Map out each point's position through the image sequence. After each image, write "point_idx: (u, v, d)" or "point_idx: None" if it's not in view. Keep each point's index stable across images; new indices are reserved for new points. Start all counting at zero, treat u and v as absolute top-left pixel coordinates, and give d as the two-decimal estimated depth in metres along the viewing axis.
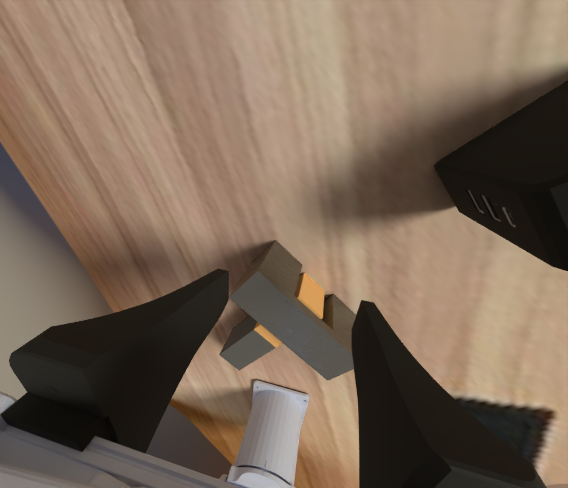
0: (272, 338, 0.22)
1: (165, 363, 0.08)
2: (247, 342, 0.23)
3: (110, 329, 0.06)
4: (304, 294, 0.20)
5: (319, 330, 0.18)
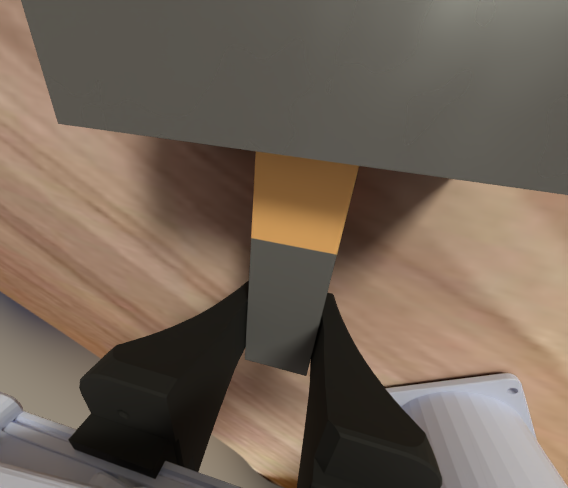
0: (309, 230, 0.07)
1: (217, 378, 0.08)
2: (267, 288, 0.09)
3: (174, 346, 0.06)
4: None
5: None
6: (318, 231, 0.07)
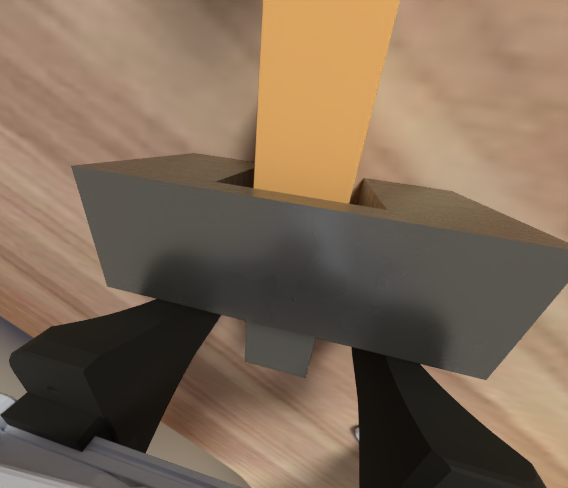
0: None
1: (165, 363, 0.08)
2: None
3: (110, 329, 0.06)
4: None
5: (335, 225, 0.05)
6: None
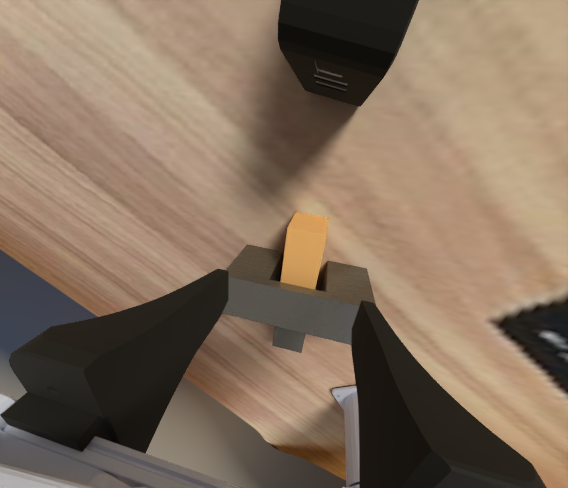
0: None
1: (165, 363, 0.08)
2: None
3: (110, 329, 0.06)
4: (296, 224, 0.18)
5: (309, 298, 0.17)
6: None
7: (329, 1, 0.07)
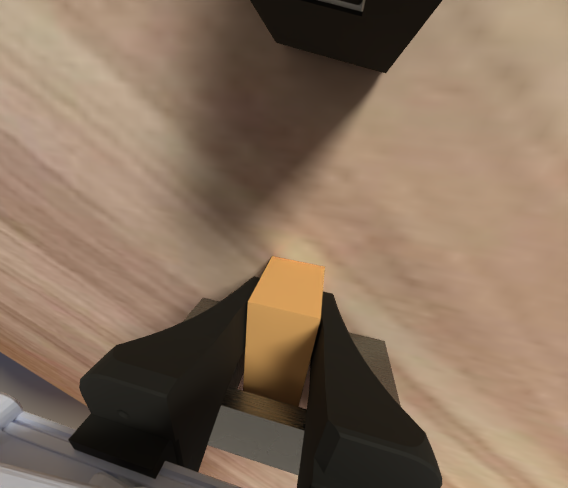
0: (279, 397, 0.11)
1: (217, 378, 0.08)
2: None
3: (173, 346, 0.06)
4: (266, 291, 0.10)
5: (287, 430, 0.09)
6: (285, 398, 0.11)
7: None
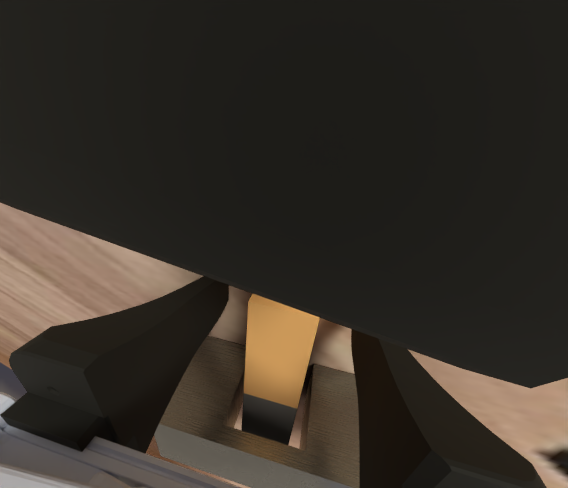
0: (279, 395, 0.12)
1: (165, 363, 0.08)
2: (254, 417, 0.13)
3: (110, 329, 0.06)
4: None
5: (279, 466, 0.11)
6: (285, 397, 0.12)
7: (110, 114, 0.01)
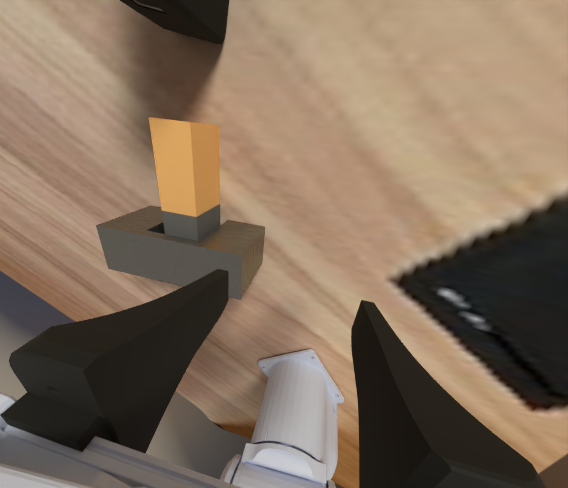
0: (183, 206, 0.17)
1: (165, 363, 0.08)
2: (173, 235, 0.18)
3: (110, 329, 0.06)
4: None
5: (179, 246, 0.17)
6: (186, 206, 0.17)
7: None
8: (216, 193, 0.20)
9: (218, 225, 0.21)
